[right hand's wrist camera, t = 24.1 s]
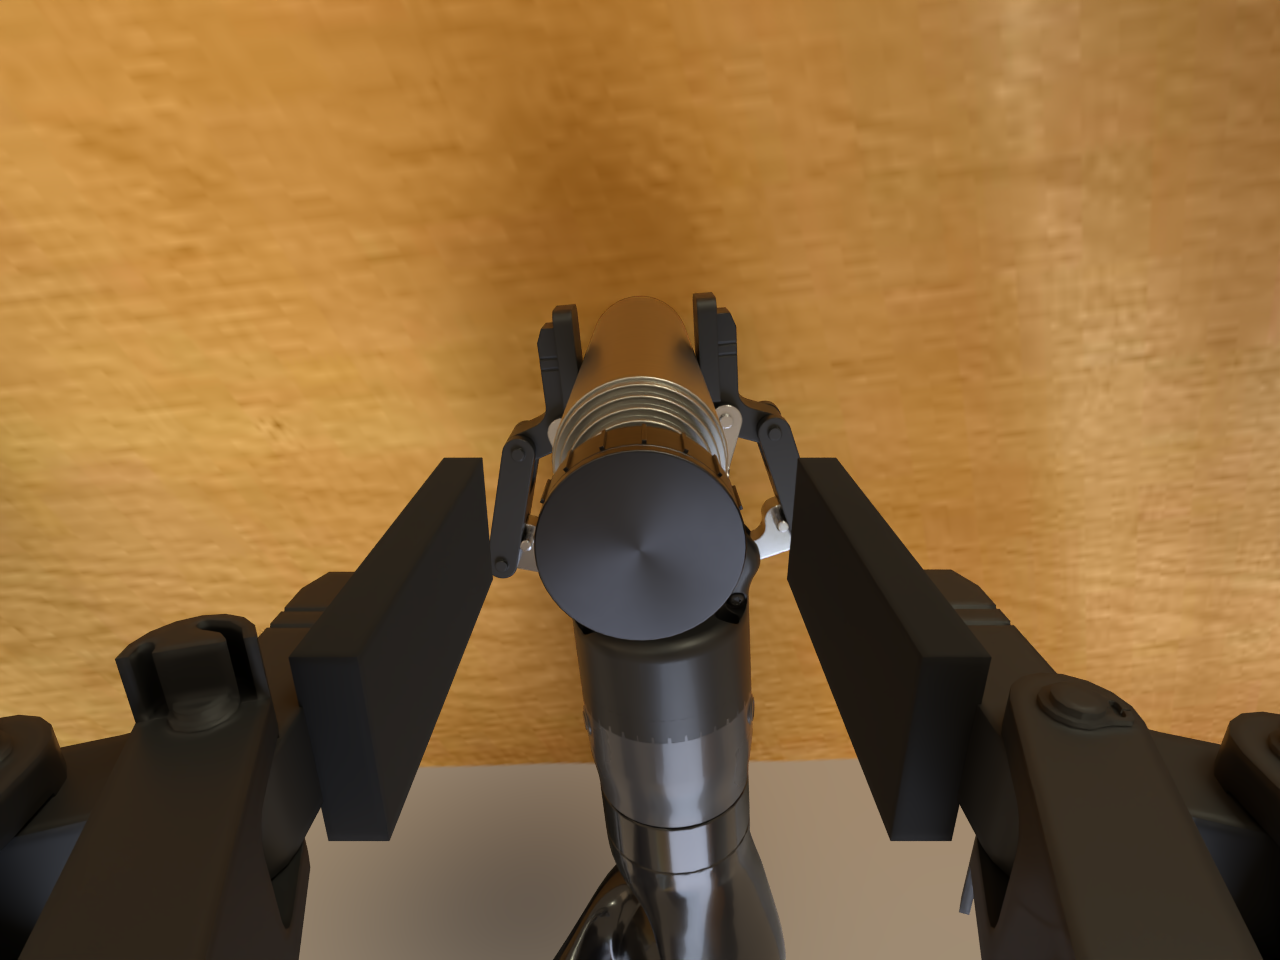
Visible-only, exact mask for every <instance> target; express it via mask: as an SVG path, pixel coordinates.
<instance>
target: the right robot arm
mask: <svg viewBox="0 0 1280 960" xmlns="http://www.w3.org/2000/svg"><path fill="white" fill-rule="evenodd" d="M492 580H493V575H492V563H491V552H490V541H489V529H488V518H487V506H486V495H485V483H484V472H483V460H482V458H443V460H442V461H441V462H440V463H439V465H438V466H437V467H436V469H435V470H434V471H433V472H432V474H431V475H430V476H429V478H428V479H427V480H426V481H425V483H424V484H423V485H422V487H421V488H420V489H419V490H418V492H417V493H416V494H415V496H414V497H413V498H412V499H411V501H410V502H409V503H408V504H407V506H406V507H405V508H404V510H403V511H402V512H401V513H400V515H399V516H398V517H397V519H396V520H395V521H394V522H393V524H392V525H391V526H390V528H389V529H388V530H387V531H386V533H385V534H384V535H383V537H382V538H381V539H380V540H379V542H378V543H377V544H376V546H375V547H374V548H373V549H372V551H371V552H370V553H369V554H368V556H367V557H366V558H365V560H364V561H363V562H362V563H361V565H360V566H359V567H358V569H357V570H356V571H355V572H328V573H327V574H325V575H323V576H322V577H320V578H318V579H317V580H315V581H313V582H312V583H310V584H308V585H307V586H305V587H303V588H302V589H301V590H300V591H299V592H298V593H297V594H296V595H295V597H294V598H293V599H292V600H291V601H290V602H289V603H288V604H287V606H286V607H285V611H284V612H280V613H279V615H278V616H277V617H276V618H275V619H274V620H273V621H272V622H271V624H270V628H266V629H265V630H264V632H263V633H262V634H261V635H260V636H259V637H257V633H256V628H255V625H254V624H253V623H251V622H250V621H249V620H247V619H246V618H244V617H240V616H234V615H229V614H218V615H202V616H198V617H193V618H189V619H185V620H180V621H176V622H173V623H171V624H168V625H166V626H163V627H161V628H158V629H156V630H153V631H151V632H149V633H147V634H146V635H144V636H142V637H141V638H139V639H137V640H136V641H134V642H132V643H131V644H129V645H128V646H127V647H126V648H125V649H124V650H123V651H122V652H121V653H120V654H119V655H118V656H117V657H116V659H115V661H116V664H117V667H118V670H119V673H120V676H121V679H122V682H123V685H124V688H125V692H126V695H127V698H128V701H129V704H130V707H131V710H132V713H133V716H134V719H135V722H136V724H135V726H134V728H133V730H132V732H131V733H128V734H124V735H120V736H115V737H110V738H105V739H100V740H95V741H90V742H86V743H81V744H76V745H71V746H66V747H61V748H60V746H59V744H58V741H57V738H56V736H55V733H54V730H53V728H52V725H51V724H50V723H48V722H47V721H45V720H44V719H42V718H41V717H36V716H25V715H15V716H9V717H2V718H0V960H299V952H300V945H301V937H302V928H303V921H304V913H305V905H306V897H307V889H308V881H309V873H310V862H309V855H308V850H307V845H306V841H305V836H306V834H307V832H308V830H309V828H310V827H311V825H312V823H313V821H314V819H315V817H316V815H317V813H318V812H319V810H320V808H321V809H322V813H323V818H324V822H325V827H326V832H327V836H328V840H329V841H389V840H390V838H391V836H392V833H393V831H394V828H395V825H396V823H397V820H398V818H399V815H400V813H401V810H402V808H403V805H404V803H405V800H406V798H407V795H408V792H409V790H410V788H411V785H412V782H413V780H414V777H415V775H416V772H417V770H418V767H419V765H420V762H421V760H422V757H423V755H424V752H425V750H426V747H427V745H428V742H429V739H430V737H431V734H432V732H433V729H434V727H435V724H436V722H437V719H438V717H439V714H440V712H441V709H442V707H443V704H444V701H445V699H446V696H447V694H448V691H449V689H450V686H451V684H452V681H453V679H454V676H455V674H456V671H457V669H458V666H459V664H460V661H461V658H462V656H463V653H464V651H465V648H466V646H467V643H468V641H469V638H470V636H471V633H472V631H473V628H474V626H475V623H476V620H477V618H478V615H479V613H480V610H481V608H482V605H483V603H484V600H485V598H486V595H487V593H488V590H489V588H490V585H491V582H492ZM787 580H788V583H789V585H790V588H791V590H792V593H793V595H794V598H795V600H796V603H797V605H798V608H799V610H800V613H801V615H802V618H803V620H804V623H805V626H806V628H807V631H808V633H809V636H810V638H811V641H812V643H813V646H814V648H815V651H816V653H817V656H818V658H819V661H820V664H821V666H822V669H823V671H824V674H825V676H826V679H827V681H828V684H829V686H830V689H831V691H832V694H833V696H834V699H835V701H836V704H837V707H838V709H839V712H840V714H841V717H842V719H843V722H844V724H845V727H846V729H847V732H848V734H849V737H850V739H851V742H852V745H853V747H854V750H855V752H856V755H857V757H858V760H859V762H860V765H861V767H862V770H863V772H864V775H865V777H866V780H867V782H868V785H869V788H870V790H871V793H872V795H873V798H874V800H875V803H876V805H877V808H878V810H879V813H880V815H881V818H882V820H883V823H884V825H885V828H886V830H887V833H888V836H889V838H890V841H952V836H953V832H954V827H955V822H956V818H957V813H958V809H959V804H960V806H961V808H962V810H963V812H964V814H965V815H966V817H967V819H968V821H969V823H970V825H971V827H972V828H973V830H974V832H975V834H976V837H975V841H974V845H973V850H972V854H971V858H970V862H969V867H968V871H967V875H966V879H965V884H964V888H963V892H962V896H961V903H960V910H959V912H961V913H964V914H968V915H969V913H970V909H971V905H972V901H973V899H974V903H975V911H976V918H977V927H978V934H979V942H980V950H981V958H982V960H1280V714H1274V713H1268V712H1254V713H1242V714H1240V715H1239V716H1237V717H1236V718H1234V719H1233V720H1231V721H1230V723H1229V725H1228V728H1227V730H1226V733H1225V736H1224V738H1223V741H1222V744H1221V745H1220V744H1215V743H1210V742H1205V741H1201V740H1196V739H1191V738H1186V737H1181V736H1176V735H1171V734H1166V733H1161V732H1157V731H1153V730H1149V729H1148V728H1147V726H1146V724H1145V722H1144V721H1143V720H1142V718H1141V717H1140V716H1139V715H1138V713H1137V712H1136V711H1135V710H1134V708H1133V707H1132V706H1131V705H1129V704H1128V703H1126V702H1125V701H1124V700H1122V699H1121V698H1119V697H1118V696H1117V695H1115V694H1114V693H1112V692H1111V691H1108V690H1106V689H1104V688H1102V687H1100V686H1098V685H1095V684H1093V683H1091V682H1089V681H1086V680H1082V679H1079V678H1075V677H1071V676H1067V675H1064V674H1057V673H1056V672H1055V671H1054V670H1053V669H1052V667H1051V666H1050V665H1049V664H1048V663H1047V662H1046V661H1045V660H1044V659H1043V657H1042V656H1041V655H1040V654H1039V653H1038V652H1037V651H1036V650H1035V648H1034V647H1033V646H1032V645H1031V644H1030V643H1029V642H1028V641H1027V639H1026V638H1025V637H1024V636H1023V635H1022V634H1021V633H1020V632H1019V631H1018V629H1017V628H1016V627H1015V626H1014V625H1010V620H1009V619H1008V618H1007V617H1006V616H1005V615H1004V614H1003V613H1002V611H1001V610H1000V609H996V605H995V604H994V603H993V601H992V600H991V599H990V598H989V597H988V596H987V595H986V594H985V592H984V591H983V590H982V589H981V588H980V587H979V586H978V585H976V584H975V583H973V582H971V581H969V580H968V579H966V578H964V577H963V576H961V575H959V574H958V573H956V572H954V571H953V570H923V569H922V567H921V566H920V565H919V563H918V562H917V561H916V560H915V558H914V557H913V556H912V554H911V553H910V552H909V551H908V549H907V548H906V547H905V546H904V544H903V543H902V542H901V540H900V539H899V538H898V537H897V535H896V534H895V533H894V531H893V530H892V529H891V528H890V526H889V525H888V524H887V522H886V521H885V520H884V519H883V517H882V516H881V515H880V513H879V512H878V511H877V510H876V508H875V507H874V506H873V505H872V503H871V502H870V501H869V499H868V498H867V497H866V496H865V494H864V493H863V492H862V490H861V489H860V488H859V487H858V485H857V484H856V483H855V481H854V480H853V479H852V478H851V476H850V475H849V474H848V472H847V471H846V470H845V469H844V467H843V466H842V465H841V463H840V462H839V461H838V460H837V458H798V460H797V472H796V483H795V495H794V506H793V518H792V529H791V541H790V552H789V563H788V575H787Z"/></svg>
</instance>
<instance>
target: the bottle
mask: <svg viewBox="0 0 1280 960" xmlns="http://www.w3.org/2000/svg"><path fill="white" fill-rule="evenodd" d="M642 424H646V426H651V427H657V428H664V429H667V430H670V431H674V432H677V433H679V434H681V433H682V432H683V433H685V434H686V437H688V438H690V439H691V440H693V441H695V442H696V443H698V444H700V445H701V446H702V447H703V448H705V449H706V450H707V451H708V452H709V453H710V454H711V455H712V456H713V455H714V454H715V455H716V456H717V458H718V461H719V464H720V465H721V467H722V468H723V469H724V471H725V473H726V475H727V469H728V448H727V442H726V438H725V435H724V431H723V429H722V426H721V423H720V421H719V418H718V415H717V413H716V410H715V407H714V404H713V402H712V399H711V396H710V394H709V391H708V388H707V386H706V383H705V380H704V378H703V375H702V372H701V369H700V367H699V364H698V361H697V359H696V356H695V353H694V351H693V348H692V345H691V343H690V340H689V337H688V334H687V332H686V329H685V327H684V324H683V322H682V320H681V319H680V317H679V316H678V314H677V313H676V312H675V311H674V310H673V309H672V308H671V307H670V306H668V305H667V304H665V303H664V302H662V301H660V300H657V299H655V298H651V297H645V296H635V297H629V298H626V299H623V300H620V301H618V302H616V303H615V304H613V305H612V306H611V307H609V308H608V309H607V310H606V311H605V312H604V313H603V315H602V316H601V318H600V319H599V321H598V323H597V325H596V327H595V330H594V332H593V335H592V338H591V341H590V343H589V346H588V349H587V351H586V354H585V357H584V359H583V362H582V365H581V368H580V370H579V373H578V376H577V378H576V381H575V384H574V387H573V389H572V392H571V395H570V397H569V400H568V403H567V405H566V408H565V411H564V414H563V416H562V419H561V422H560V424H559V427H558V430H557V433H556V436H555V439H554V444H553V450H552V466H553V474H555V472H556V470H557V469H558V467H559V466H560V464H561V463H562V462H563V461H564V460H565V458H566V457H567V454H568V451H569V450H570V449H572V450H573V451H574V450H575V449H576V448H577V447H578V446H580V445H581V444H583V443H584V442H586V441H587V440H589V439H591V438H593V437H595V436H597V435H599V434H601V432H602V430H605V429H606V431H610V430H613V429H618V428H622V427H631V426H642Z"/></svg>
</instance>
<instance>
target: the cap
mask: <svg viewBox="0 0 1280 960" xmlns="http://www.w3.org/2000/svg"><path fill="white" fill-rule="evenodd" d="M540 503H543V505H542V508H541V511H540V514H539V517H538V521H537V524H536V528H535V533H534V536H533V540H534V555H535V561H536V566H537V569H538V572H539V575H540V578H541V580H542V582H543V584H544V586H545V588H546V590H547V591H548V593H549V594H550V596H551V597H552V599H553V600H554V601H555V602H556V604H557V605H558V606H559V607H560V608H561V609H562V610H563V611H564V612H565V613H566V614H568V615H569V616H570V617H571V618H573V619H574V620H575V621H577V622H578V623H580V624H581V625H583V626H585V627H587V628H589V629H591V630H593V631H595V632H598V633H601V634H603V635H607V636H610V637H614V638H619V639H626V640H656V639H661V638H666V637H671V636H674V635H677V634H680V633H683V632H685V631H687V630H689V629H692V628H694V627H695V626H697V625H699V624H701V623H702V622H704V621H705V620H707V619H708V618H709V617H710V616H712V615H713V614H714V613H715V612H716V611H717V610H718V609H719V608H720V607H721V606H722V605H723V604H724V603H725V602H726V601H727V599H728V598H729V597H730V595H731V594H732V592H733V591H734V589H735V587H736V585H737V584H738V581H739V579H740V576H741V574H742V571H743V567H744V563H745V559H746V549H747V542H746V531H745V526H744V522H743V519H742V516H741V512H740V510H742V509H743V508H742V505H741V502H740V499H739V496H738V493H737V490H736V487H735V485H734V486H731V483H730V480H729V479H728V477H727V475H726V473H725V471H724V469H723V468H722V467H721V465H720V464H719V461H718V458H717V456H716V455H715V454H714V455H713V456H712V455H711V454H710V453H709V452H708V451H707V450H706V449H705V448H703V447H702V446H701V445H700V444H698V443H696V442H695V441H693V440H691V439H690V438H688V437H686V434H685V433H683V432H682V433H681V434H679V433H677V432H674V431H670V430H667V429H664V428H657V427H651V426H646V424H642V426H631V427H622V428H618V429H613V430H610V431H606V429H605V430H602V432H601V434H599V435H597V436H595V437H593V438H591V439H589V440H587V441H586V442H584V443H583V444H581V445H580V446H578V447H577V448H576V449H575V450H574V451H573V450H572V449H570V450H569V451H568V454H567V457H566V458H565V460H564V461H563V462H562V463H561V464H560V466H559V467H558V469H557V470H556V472H555V474H554V475H553V477H552V480H549V479H548V481H547V483H546V486H545V489H544V492H543V495H542V498H541V501H540Z"/></svg>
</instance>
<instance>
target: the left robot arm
mask: <svg viewBox="0 0 1280 960" xmlns="http://www.w3.org/2000/svg"><path fill="white" fill-rule="evenodd" d="M693 317H694V336H695V355H696V359H697V361H698V364H699V367H700V369H701V372H702V375H703V378H704V380H705V383H706V386H707V388H708V391H709V394H710V396H711V399H712V402H713V404H714V407H715V410H716V413H717V415H718V418H719V421H720V423H721V426H722V429H723V431H724V435H725V438H726V442H727V448H728V469H727V477H728V479H729V469H730V463H731V459H732V456H733V453H734V449H735V446H736V442H737V439H738V437H739V438H743V439H747V440H751V441H754V442H757V444H758V446H759V449H760V452H761V455H762V458H763V461H764V464H765V467H766V470H767V473H768V476H769V479H770V482H771V485H772V488H773V491H774V494H775V496H774V497H772V498H769V499H768V500H766V501H765V502H764V504H763V505H762V508H761V514H762V521H761V523H760V525H759V526H758V527H757V528H756V529H755V530H753V531H750V530H749V529H748V527H747V526H746V525H745V524H744V526H745V531H746V542H747V549H746V559H745V563H744V567H743V571H742V574H741V576H740V579H739V581H738V584H737V585H736V587H735V589H734V591H733V592H732V594H731V595H730V597H729V598H728V599H727V601H726V602H725V603H724V604H723V605H722V606H721V607H720V608H719V609H718V610H717V611H716V612H715V613H714V614H713V615H712V616H710V617H709V618H708V619H707V620H705V621H704V622H702V623H701V624H699V625H697V626H695V627H694V628H692V629H689V630H687V631H685V632H683V633H680V634H677V635H674V636H671V637H666V638H661V639H656V640H626V639H619V638H614V637H610V636H607V635H603V634H601V633H598V632H595V631H593V630H591V629H589V628H587V627H585V626H583V625H581V624H580V623H578V622H577V621H575V620H574V619H573V626H574V633H575V640H576V648H577V655H578V662H579V669H580V676H581V684H582V691H583V699H584V708H583V718H584V723H585V727H586V730H587V731H588V736H589V741H590V746H591V751H592V755H593V758H594V761H595V764H596V767H597V770H598V773H599V777H600V782H601V791H602V798H603V806H604V813H605V821H606V828H607V834H608V840H609V844H610V848H611V852H612V855H613V857H614V860H615V862H616V865H615V866H614V867H613V869H612V870H611V871H610V872H609V873H608V874H607V876H606V877H605V879H604V880H603V882H602V883H601V884H600V886H599V887H598V889H597V891H596V892H595V894H594V895H593V897H592V899H591V900H590V902H589V903H588V905H587V907H586V908H585V910H584V912H583V913H582V915H581V917H580V918H579V920H578V922H577V923H576V925H575V926H574V928H573V930H572V931H571V933H570V934H569V936H568V937H567V939H566V941H565V942H564V943H563V945H562V947H561V948H560V950H559V951H558V953H557V954H556V956H555V957H554V959H553V960H786V952H785V944H784V938H783V933H782V927H781V924H780V920H779V916H778V912H777V909H776V906H775V903H774V899H773V896H772V893H771V890H770V887H769V884H768V881H767V877H766V874H765V871H764V868H763V865H762V862H761V859H760V857H759V854H758V852H757V849H756V847H755V845H754V842H753V839H752V836H751V834H750V818H749V781H748V763H749V756H750V750H751V741H752V721H753V717H754V697H753V695H752V694H751V663H750V629H749V596H748V594H749V587H750V584H751V581H752V579H753V577H754V575H755V574H756V572H757V570H758V568H759V565H760V560H761V559H764V558H767V557H770V556H773V555H776V554H779V553H782V552H785V551H788V550H790V541H791V529H792V518H793V506H794V495H795V483H796V472H797V460H798V458H800V457H799V453H798V450H797V447H796V444H795V441H794V438H793V435H792V431H791V428H790V426H789V424H788V423H787V421H786V420H785V419H784V418H783V417H782V416H781V413H780V411H779V410H778V408H777V407H776V405H775V404H773V403H772V402H770V401H760V402H757V401H753V400H749V399H746V398H744V397H742V396H741V395H739V393H738V370H737V343H736V342H737V337H736V325H735V323H734V320H733V318H732V316H731V314H730V312H729V311H728V310H727V309H726V307H724V308H717V306H716V298H715V296H714V294H713V293H712V292H708V293H696V294H693ZM552 320H553V322H551V323H545V325H544V326H543V327H542V328H541V331H540V335H539V339H538V342H537V345H538V353H539V359H540V367H541V375H542V382H543V389H544V397H545V404H546V412H545V413H544V414H542V415H541V416H539V417H536V418H534V419H532V420H530V421H522V422H520V423H518V424H517V425H516V426H515V428H514V430H513V431H512V433H511V435H510V437H509V438H508V440H507V442H506V444H505V446H504V448H503V451H502V457H501V464H500V472H499V479H498V486H497V493H496V500H495V507H494V515H493V522H492V529H491V536H490V552H491V563H492V575H494V576H495V577H498V578H508V577H510V576H512V575H513V574H514V573H515V571H516V569H517V568H519V569H525V570H530V571H536V572H538V569H537V566H536V561H535V555H534V540H533V536H534V533H535V528H536V524H537V521H538V517H537V516H533V515H530V513H531V507H532V500H533V494H534V488H535V482H536V475H537V469H538V463H539V458H541V457H544V456H546V455H548V454H550V453H552V450H553V444H554V439H555V436H556V433H557V430H558V427H559V424H560V422H561V419H562V416H563V414H564V411H565V408H566V405H567V403H568V400H569V397H570V395H571V392H572V389H573V387H574V384H575V381H576V378H577V376H578V373H579V370H580V368H581V365H582V362H583V358H582V349H581V341H580V332H579V323H578V315H577V308H576V305H575V304H572V305H560V306H556V307H555V309H554V310H553V312H552Z"/></svg>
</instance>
